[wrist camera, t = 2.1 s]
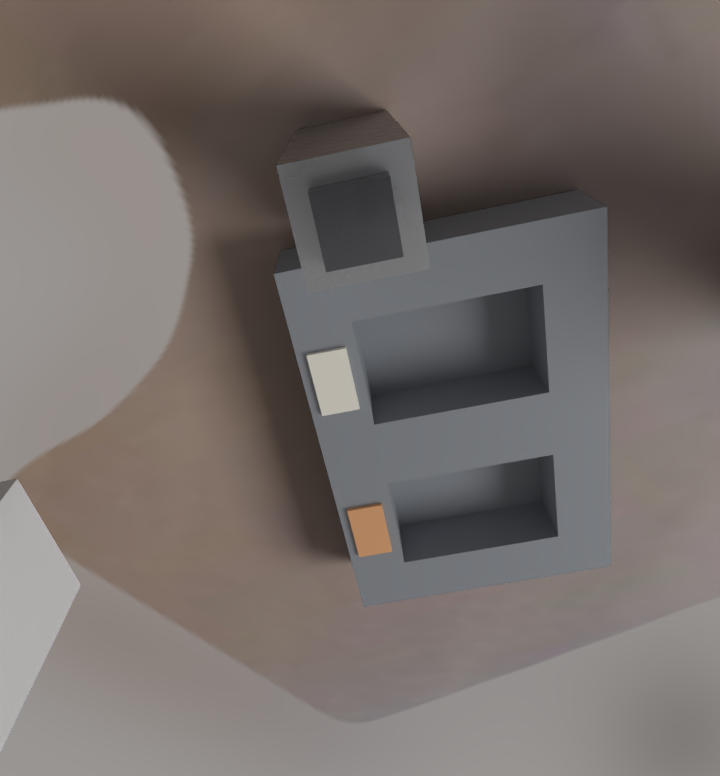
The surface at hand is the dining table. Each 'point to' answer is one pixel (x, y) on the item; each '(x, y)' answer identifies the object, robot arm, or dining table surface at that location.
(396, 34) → the dining table surface
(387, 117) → the plug
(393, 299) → the socket board
